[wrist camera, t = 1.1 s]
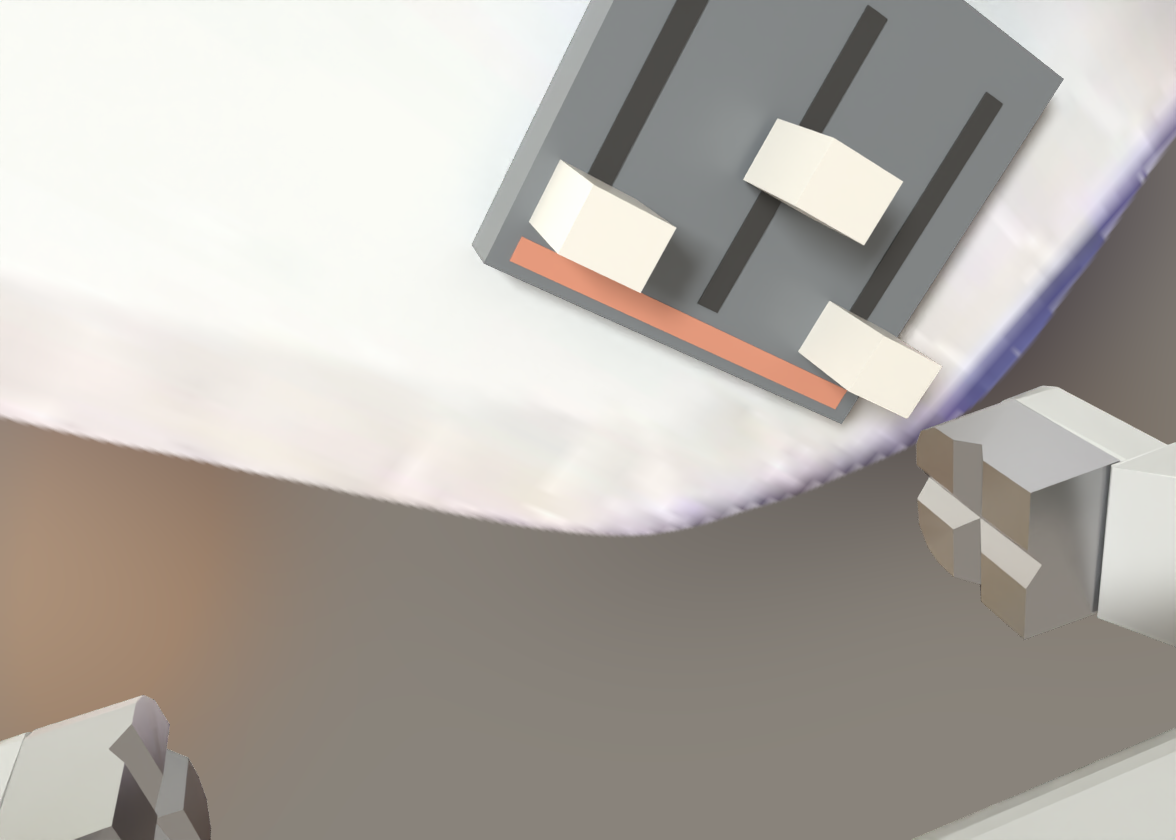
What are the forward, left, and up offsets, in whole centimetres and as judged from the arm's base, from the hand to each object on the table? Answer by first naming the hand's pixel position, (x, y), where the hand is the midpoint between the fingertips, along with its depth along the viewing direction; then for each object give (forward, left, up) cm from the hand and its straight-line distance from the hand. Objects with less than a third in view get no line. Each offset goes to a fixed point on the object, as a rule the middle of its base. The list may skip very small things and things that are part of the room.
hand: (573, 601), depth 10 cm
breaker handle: (-7, +18, -32) cm, 37 cm away
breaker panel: (-7, +18, -35) cm, 40 cm away
